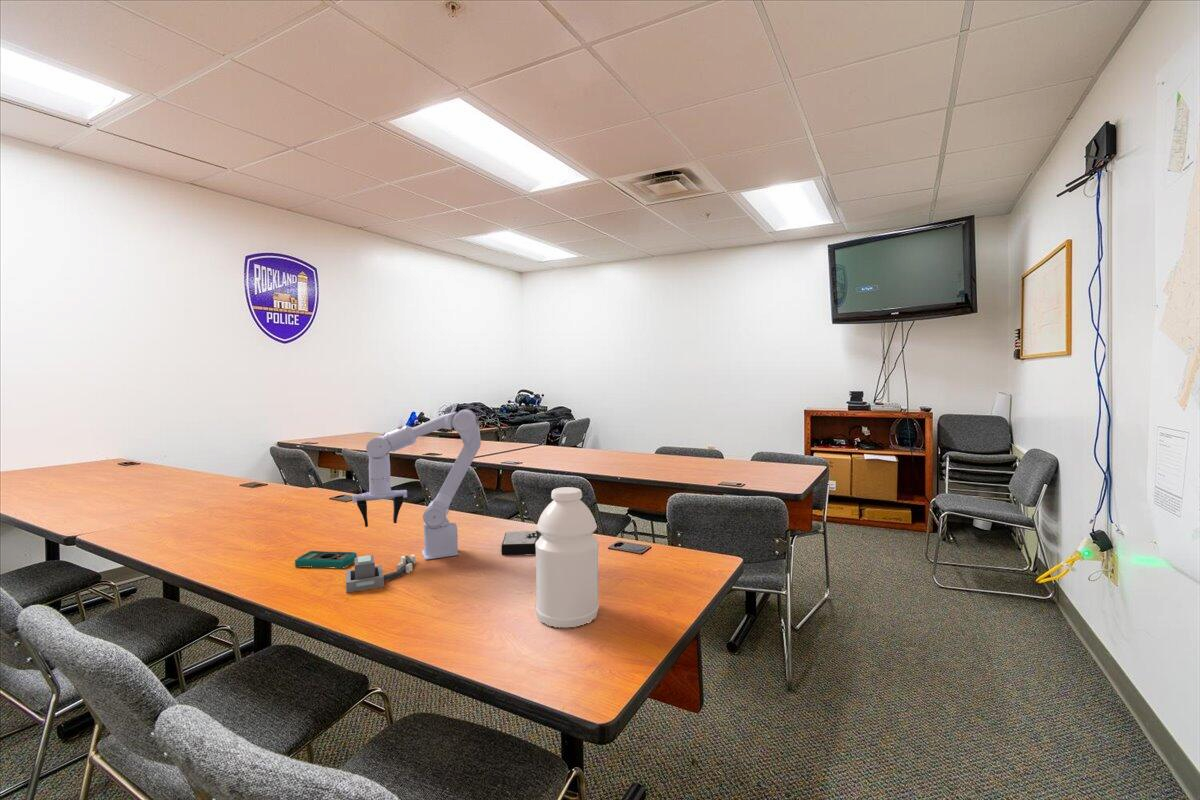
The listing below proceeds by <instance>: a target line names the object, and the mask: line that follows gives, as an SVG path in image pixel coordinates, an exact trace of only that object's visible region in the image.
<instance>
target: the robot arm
mask: <svg viewBox="0 0 1200 800" xmlns="http://www.w3.org/2000/svg"><path fill="white" fill-rule="evenodd" d="M440 429H445V430H452V429H454V430H455V431H456V433H458V435H459V436H460V438H461V441H462V445H463V446H462V448H461V450H460V452H459V454H458V456H456V457H457V458H456V459H455V461H454V463H453V464H452V467H451V469H450V470H449V472H448V474H447V476H446V477H445V480H444V482H443V484H442V486H441V487H440V489H439V491H438V493H437V495H436V497H435V498H434V499H433V500H431V501H430V502H429V504H428V506H427V508H426V509H425V510H424V512H423V514H422V518H423V519H422V520H423V522H424V523H423V540H424V541H423V543H424V544H423V547H424V549H422V550H421V553H422V556H423V558H424V560H433V559H439V558H447V557H454V556H458V555H459V551H458V550H459V547H458V546H459V544H458V543H459V541H458V539H459V538H458V537H459V536H458V526H457V524H456V522H450V520H449V519H448V518H447V516H448V514H449V511H450V504H451V503H452V500H453V498H454V496H455V495H456V493H457V491H458V489H459V487H460V485H461V483H462V482H463V479H464V478H465V476H466V474H467V472H468V470H469V468H470V466H471V464H472V462H473V461H474V459H475V457H476V455H477V454H478V451H479V449H480V447H481V444H482V438H481V432H480V430H481V429H480V422H479V420H478V417H477V416H476V414H475V412H474V411H473V410H471V409H467V408H466V409H461V410H459V411H458V412H457V411H453V412H449V413H446V414H443V415H440V416H437V417H435V418H433V419H430V420H428V421H425V422H424V423H422V424H419V425H415V427H414V426H413V427H412V426H409V425H404V426H403V424H401V425H398V426H397V428H396V429H394V430H392V431H389V432H386V431H385V432H382V433H381V435H379V436H376V437H373V438H372V439H370V440H369V441H367V443H366V446H365V450H366V454H368V484H369V485H368V486H369V490H368V492H364V493H363V492H362V493H358V494H357V493H356V494H352V503H353V504H356V506H357V507H358V509H359V511H360V514H361V516H362V518H363V521H364V527H365V528H367V527H369V521H368V520H369V519H368V504H367V502H369V501H380V500H391V499H392V502H393V503H392V504H393V517H392V521H393V524H397V522H398V516H399V512H400V510H401V507H402V505H403V503H404V500H405V499H404V498H408V490H407V489H399V490H398V489H397V490H394V489H393V490H392V486H391V484H392V483H391V461H390V452H393V453H394V452H396V451H398V450H399V451H400V449H404V448H406V447H408V446H411V445H414V444H416V440H417V438H419V437H422V436H425V435H427V434H430V433H433V432H436V431H438V430H440Z"/></svg>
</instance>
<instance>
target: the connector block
mask: <svg viewBox="0 0 1200 800" xmlns="http://www.w3.org/2000/svg"><path fill="white" fill-rule="evenodd" d="M374 556H375V555H374V554H369V555H363V556H361V555H360V556H357V558H355V562H354V569H355V580H358V579H364V578H370V577H375V566H376V565H375V564H376V563H375V558H374Z"/></svg>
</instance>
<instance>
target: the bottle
mask: <svg viewBox="0 0 1200 800" xmlns="http://www.w3.org/2000/svg"><path fill="white" fill-rule="evenodd" d="M550 497H551V499H552V501H551V502H550V503H548V505H547V506H546V507H545V508H544V509H543V511H542V512H541V514H540V516H539V518H538V521H537V524H536V531H538V532H539V533H540V534H541V537H540V538H539V539H538V540H537V541H536V542H535V547H536V555H535V594H536V595H535V596H536V599H535V601H536V604H535V611H536V619H538V620H539V621H540V623H542V622H543V623H545V624H544V625H546V624H547V625H546V626H548V625H549V626H548V627H551V626H554V627H553V628H557V627H559V628H558V629H561V628H560V627H572V626H578V625H582V624H585V623H587V622H590V621H591V620H592V619H594V618H595V617H596V618H597V616H598V614H599V607H600V604H599V541H598V539H597V538H596V537H595V536H594V534H593V533H595V531H596V530H597V528H598V525H597V523H596V519H595V516H594V515H593V513H592V512H591V510H590V508H589V507H588V505H586V504H585V502H583V501H582V500H581V499H582V498H583V491H582V489H580V488H578V487H572V486H571V487H570V486H568V487H566V486H564V487H556V488H554V489H553V490H551V494H550ZM597 613H598V614H597ZM596 618H595V619H596ZM595 619H594V620H595ZM543 623H542V624H543ZM590 623H591V622H590Z"/></svg>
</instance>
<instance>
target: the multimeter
mask: <svg viewBox="0 0 1200 800" xmlns="http://www.w3.org/2000/svg"><path fill="white" fill-rule="evenodd" d="M540 537H541V534H540V533H539V532H538V531H537V530H524V531H523V530H522V531H521V530H520V531H506V532H505V533H504V537H503V540H502V543H501V549H500V550H501V551H500V552H501V556H503V555H505V556H526V555H525V554H536V547H535V542H536V541H537V540H538V539H539V538H540Z"/></svg>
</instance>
